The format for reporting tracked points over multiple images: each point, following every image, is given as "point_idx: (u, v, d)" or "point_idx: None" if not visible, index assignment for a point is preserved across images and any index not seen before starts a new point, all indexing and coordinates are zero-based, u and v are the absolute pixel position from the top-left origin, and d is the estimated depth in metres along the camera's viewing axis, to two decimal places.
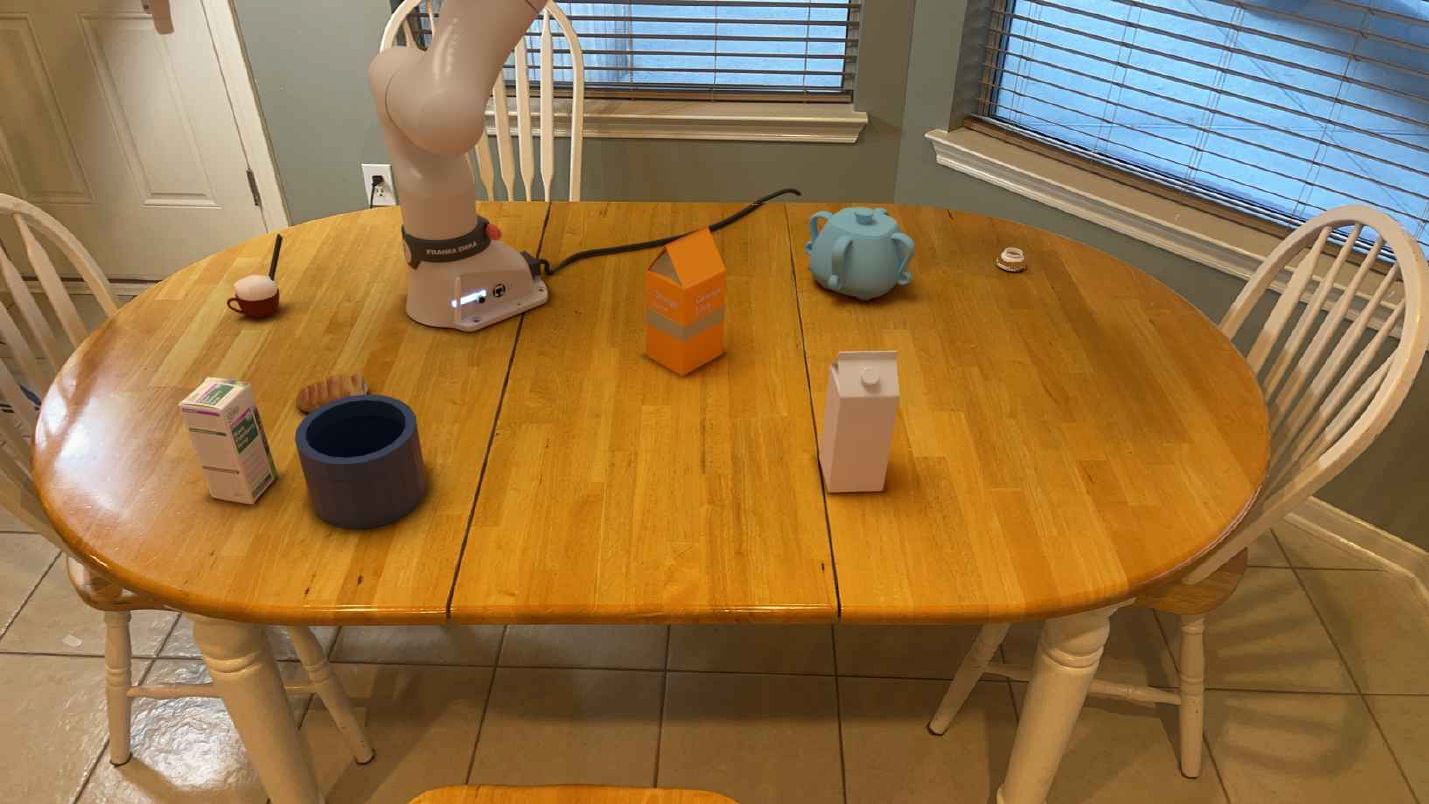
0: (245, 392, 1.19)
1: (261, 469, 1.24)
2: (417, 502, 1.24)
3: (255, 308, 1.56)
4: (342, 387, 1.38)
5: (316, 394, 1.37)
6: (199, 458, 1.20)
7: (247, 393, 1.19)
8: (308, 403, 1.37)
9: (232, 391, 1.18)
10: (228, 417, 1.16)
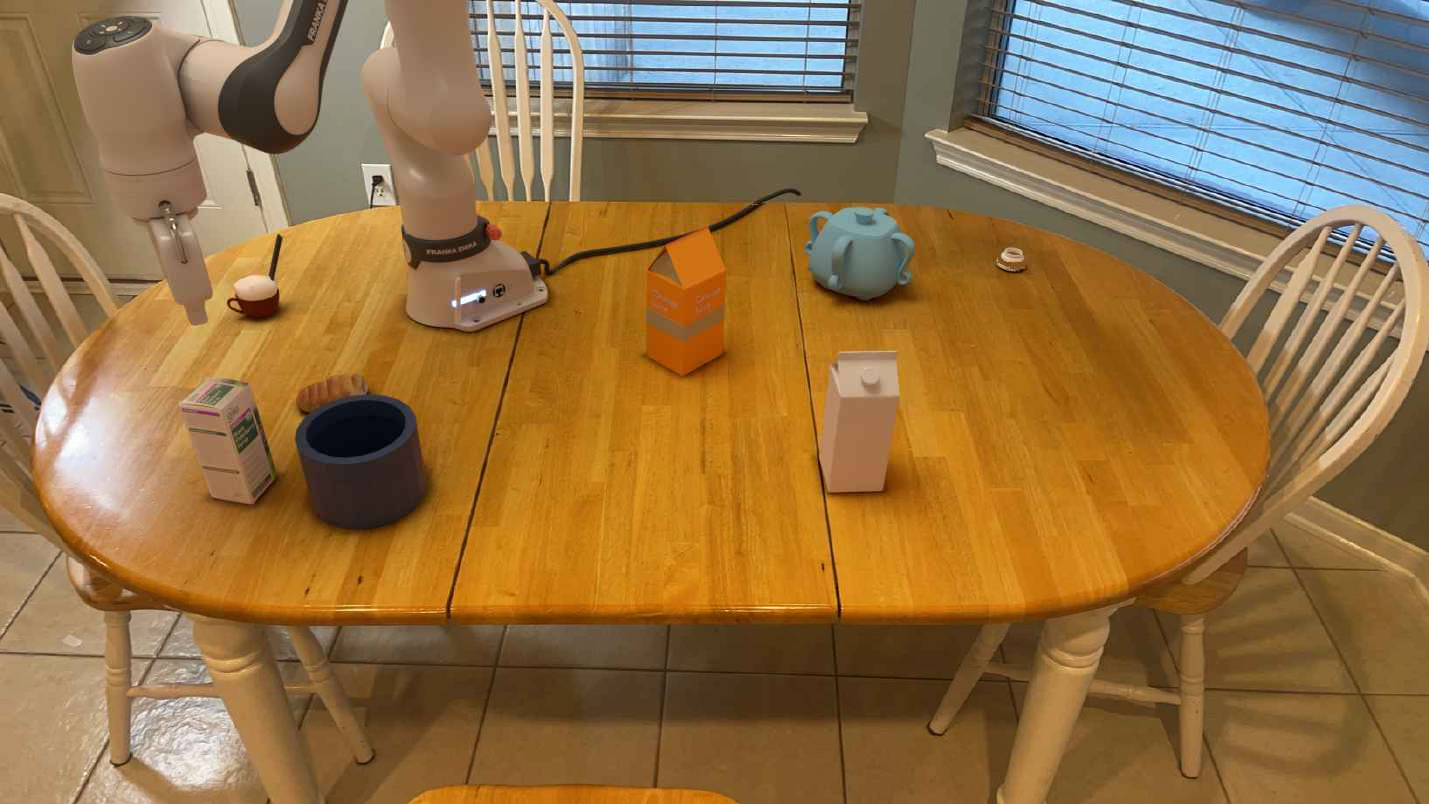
0: (245, 392, 1.19)
1: (261, 469, 1.24)
2: (417, 502, 1.24)
3: (255, 308, 1.56)
4: (342, 387, 1.38)
5: (316, 394, 1.37)
6: (199, 458, 1.20)
7: (247, 393, 1.19)
8: (308, 403, 1.37)
9: (232, 391, 1.18)
10: (228, 417, 1.16)
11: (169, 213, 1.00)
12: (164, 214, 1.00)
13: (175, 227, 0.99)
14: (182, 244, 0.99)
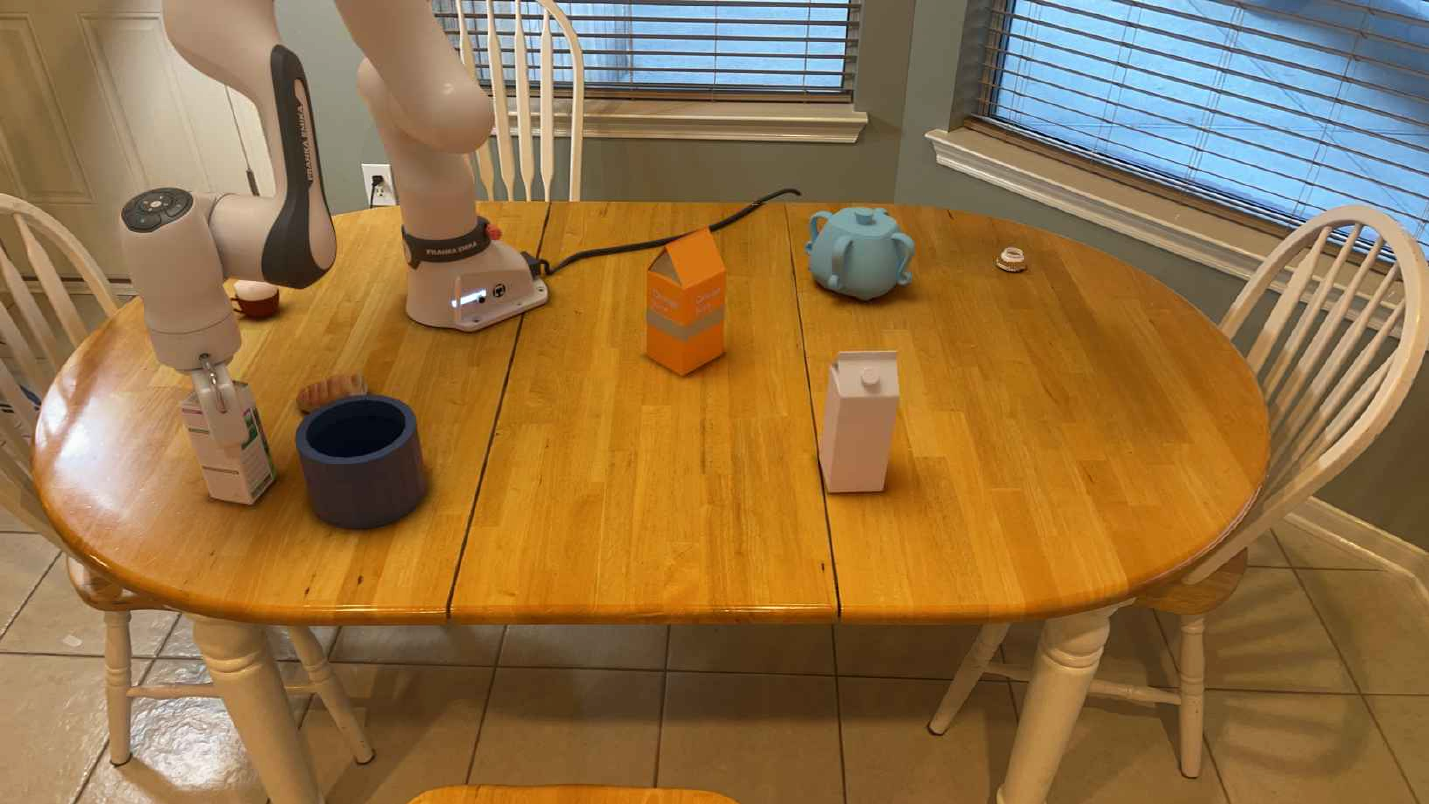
0: (244, 392, 1.19)
1: (261, 469, 1.24)
2: (417, 502, 1.24)
3: (255, 308, 1.56)
4: (342, 387, 1.38)
5: (316, 394, 1.37)
6: (199, 458, 1.20)
7: (247, 394, 1.19)
8: (308, 403, 1.37)
9: None
10: None
11: (209, 368, 1.08)
12: (204, 368, 1.08)
13: (215, 382, 1.07)
14: (222, 398, 1.07)
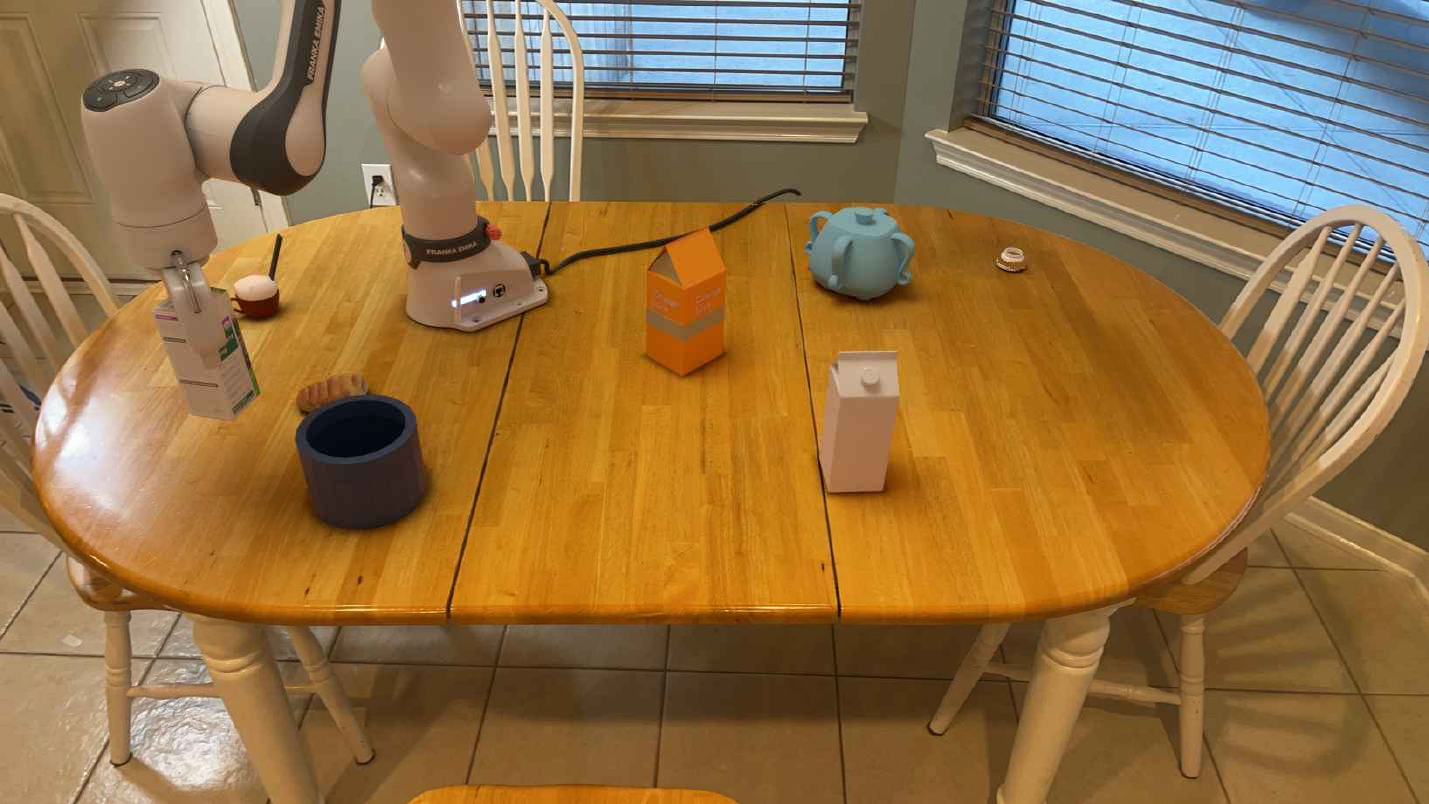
0: (222, 299, 1.12)
1: (242, 384, 1.17)
2: (417, 502, 1.24)
3: (255, 308, 1.56)
4: (342, 387, 1.38)
5: (316, 394, 1.37)
6: (175, 371, 1.13)
7: (225, 301, 1.12)
8: (308, 403, 1.37)
9: None
10: None
11: (181, 264, 1.01)
12: (176, 265, 1.01)
13: (188, 278, 1.00)
14: (195, 295, 1.00)
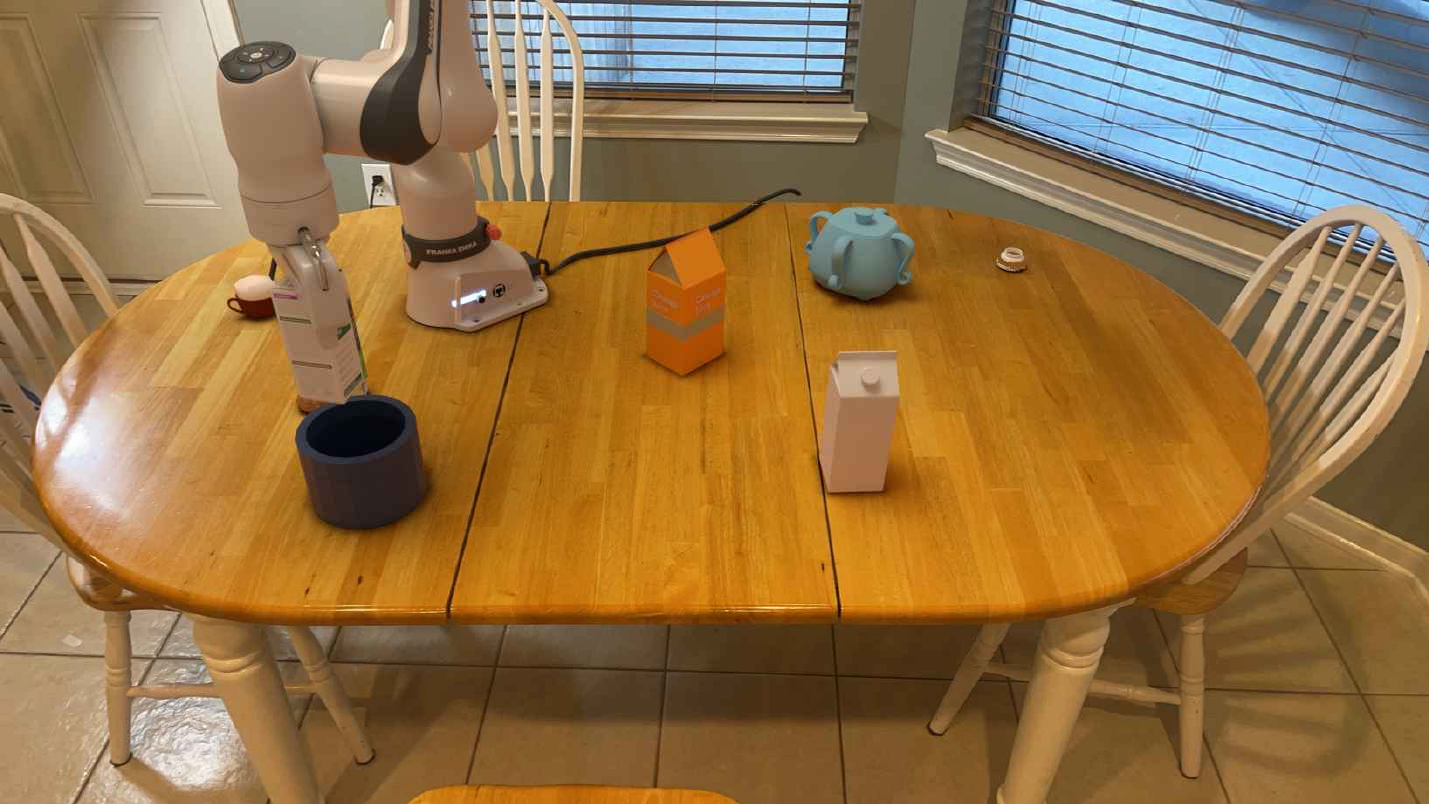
0: None
1: (353, 366, 1.15)
2: (417, 502, 1.24)
3: (255, 308, 1.56)
4: None
5: None
6: (288, 351, 1.11)
7: None
8: (308, 403, 1.37)
9: None
10: None
11: (311, 240, 0.99)
12: (305, 241, 0.99)
13: (319, 255, 0.98)
14: (325, 272, 0.98)
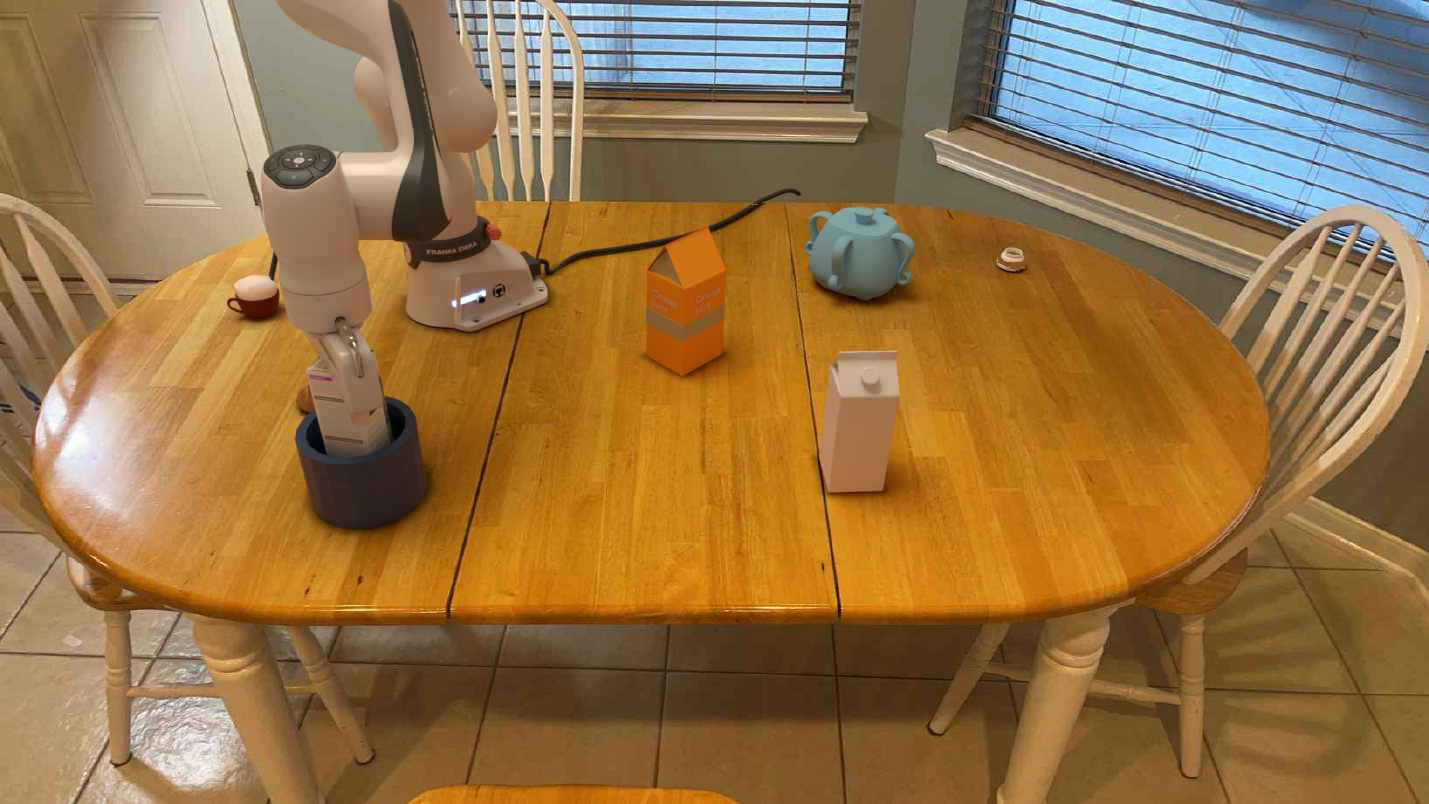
0: None
1: (382, 439, 1.21)
2: (417, 502, 1.24)
3: (255, 308, 1.56)
4: None
5: None
6: (322, 427, 1.17)
7: None
8: (308, 403, 1.37)
9: None
10: None
11: (348, 331, 1.05)
12: (342, 331, 1.05)
13: (355, 345, 1.04)
14: (361, 361, 1.04)
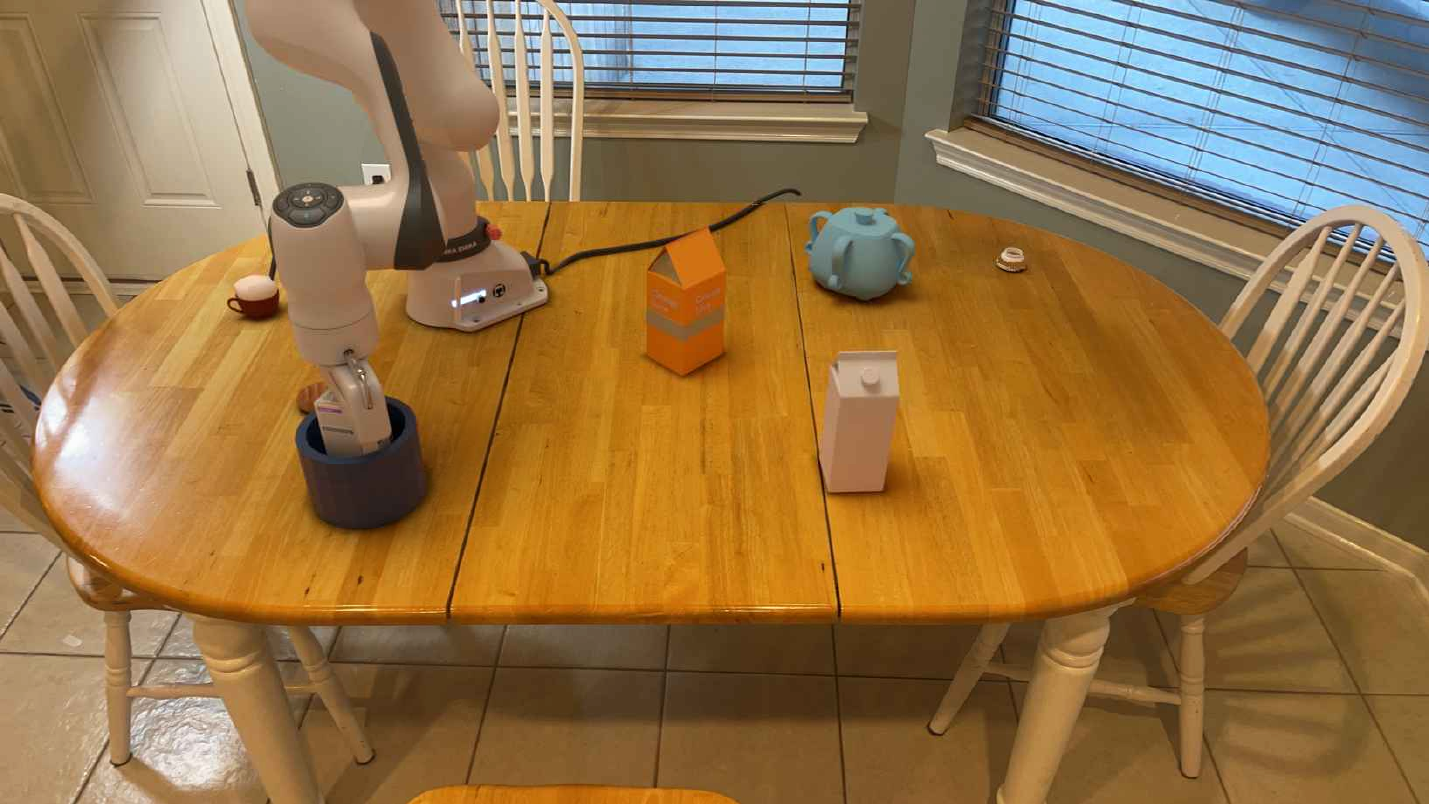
0: None
1: None
2: (417, 502, 1.24)
3: (255, 308, 1.56)
4: None
5: (316, 394, 1.37)
6: None
7: None
8: (308, 403, 1.37)
9: None
10: None
11: (356, 364, 1.07)
12: (351, 364, 1.08)
13: (364, 378, 1.06)
14: (370, 393, 1.07)
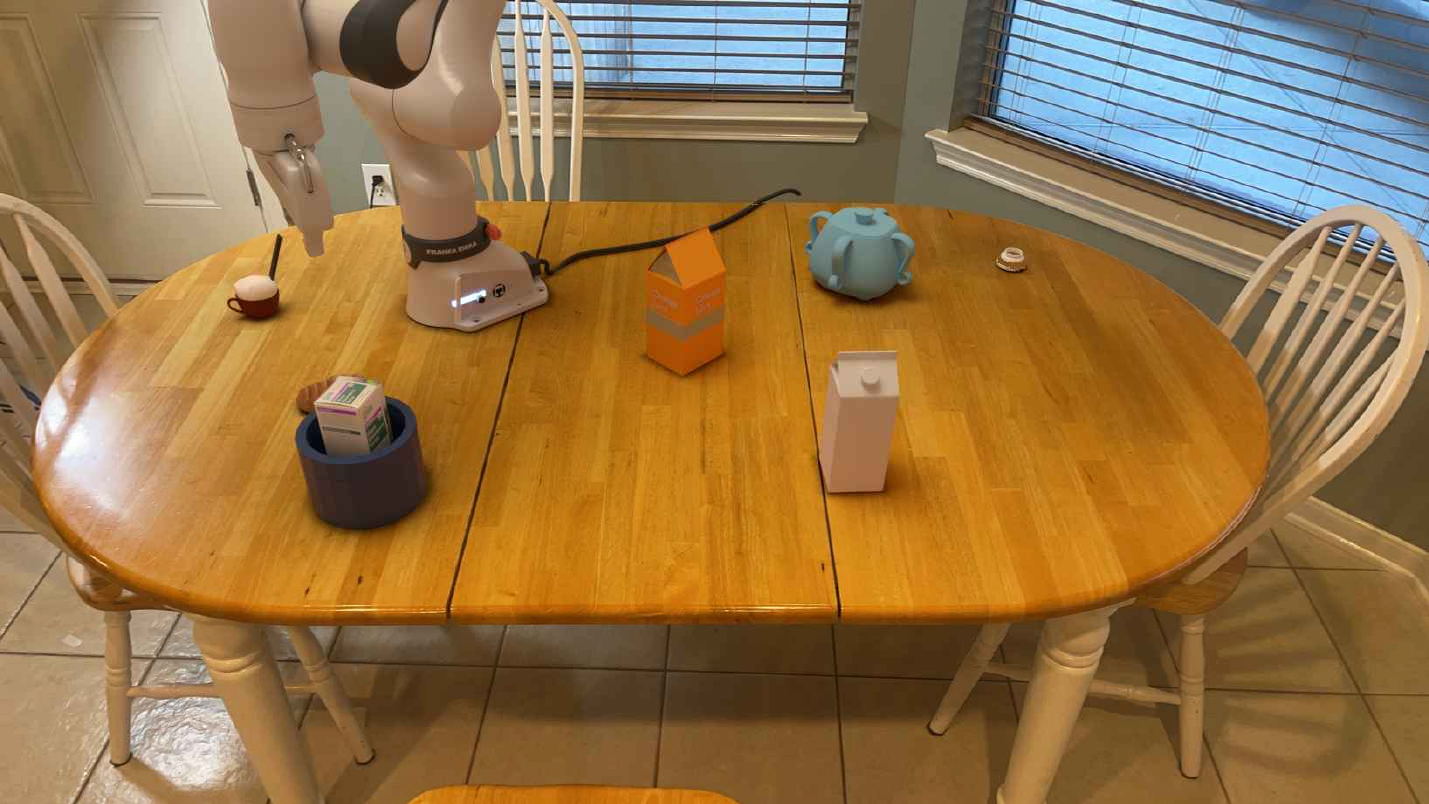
0: (377, 391, 1.18)
1: None
2: (417, 502, 1.24)
3: (255, 308, 1.56)
4: None
5: (316, 394, 1.37)
6: None
7: (379, 392, 1.19)
8: (308, 403, 1.37)
9: (365, 390, 1.17)
10: (363, 416, 1.16)
11: (296, 144, 1.05)
12: (291, 146, 1.05)
13: (304, 157, 1.04)
14: (310, 174, 1.04)
